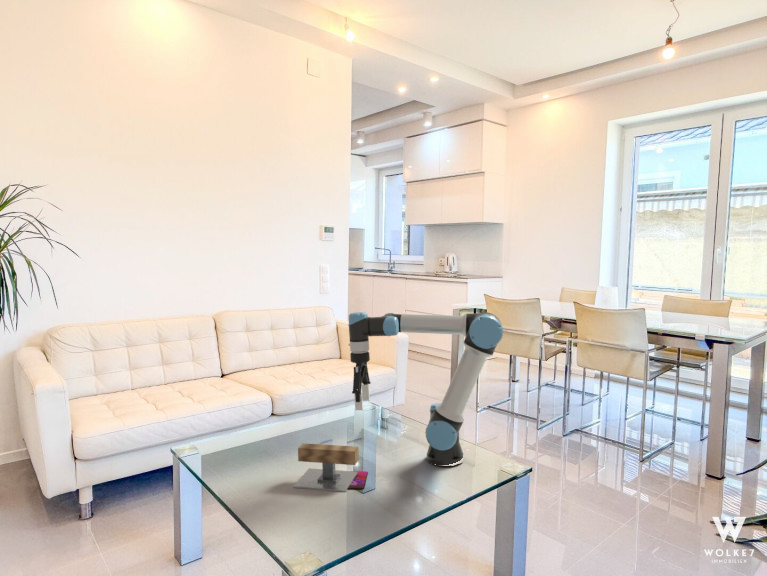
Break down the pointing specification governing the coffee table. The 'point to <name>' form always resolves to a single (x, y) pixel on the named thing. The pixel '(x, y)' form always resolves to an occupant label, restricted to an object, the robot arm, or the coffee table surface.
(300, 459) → the walnut bar
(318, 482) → the stand
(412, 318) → the robot arm
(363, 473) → the smartphone
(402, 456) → the coffee table surface
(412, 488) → the coffee table surface
